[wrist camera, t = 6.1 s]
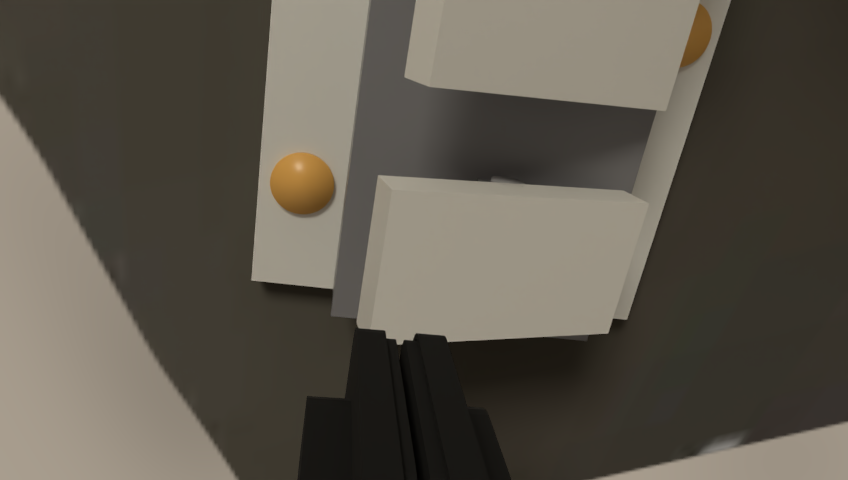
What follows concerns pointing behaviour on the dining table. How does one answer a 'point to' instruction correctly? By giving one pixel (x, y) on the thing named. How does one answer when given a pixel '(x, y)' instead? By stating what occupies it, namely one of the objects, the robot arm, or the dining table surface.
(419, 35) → the rocker middle
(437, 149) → the switch unit
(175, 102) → the dining table surface
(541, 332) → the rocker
